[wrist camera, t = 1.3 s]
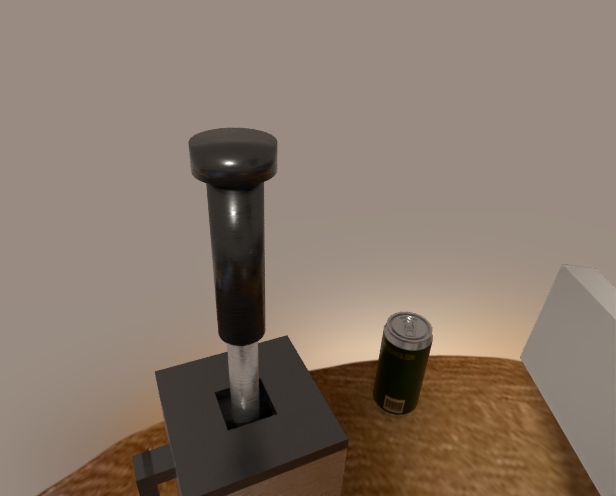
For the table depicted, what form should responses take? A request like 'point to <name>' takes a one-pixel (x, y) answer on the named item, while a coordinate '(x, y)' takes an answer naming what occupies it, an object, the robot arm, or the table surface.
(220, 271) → the plunger
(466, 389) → the table surface
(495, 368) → the table surface
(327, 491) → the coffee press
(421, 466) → the table surface
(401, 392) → the green drink can
